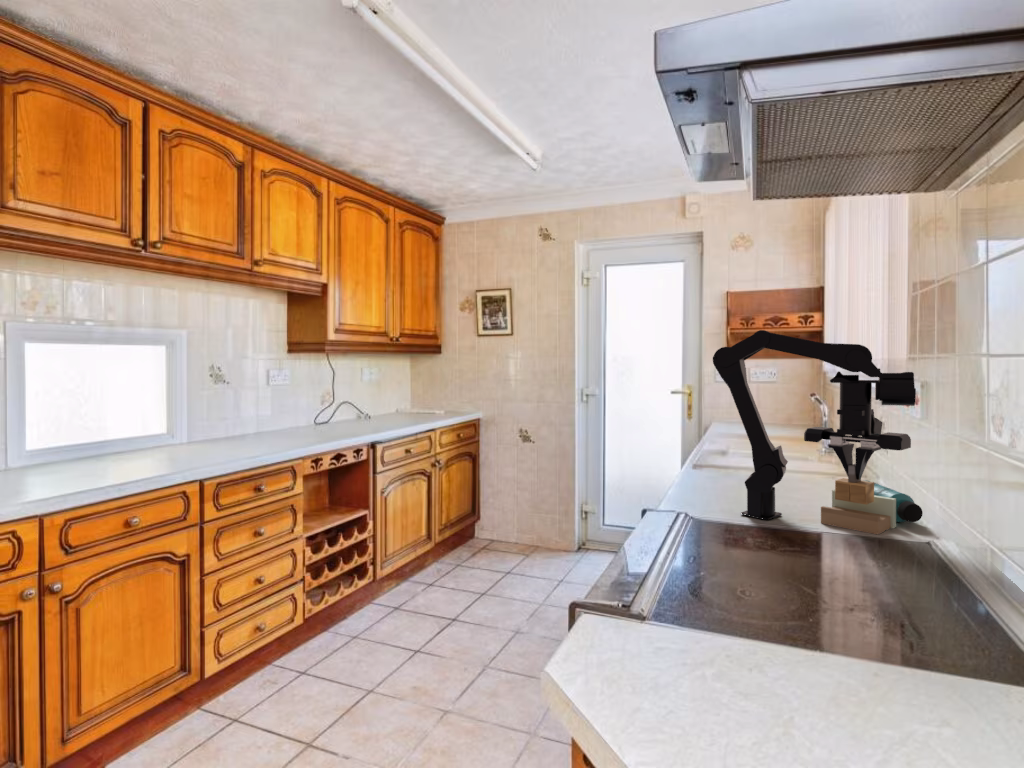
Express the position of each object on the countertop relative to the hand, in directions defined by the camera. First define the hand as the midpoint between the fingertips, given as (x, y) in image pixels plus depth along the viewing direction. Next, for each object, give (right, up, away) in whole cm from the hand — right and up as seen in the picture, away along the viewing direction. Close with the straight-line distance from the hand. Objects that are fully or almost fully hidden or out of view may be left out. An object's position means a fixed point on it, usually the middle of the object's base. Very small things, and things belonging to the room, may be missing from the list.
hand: (854, 478), depth 123 cm
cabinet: (0, -5, 0) cm, 5 cm away
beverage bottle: (+11, -6, +17) cm, 21 cm away
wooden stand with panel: (+1, -10, +1) cm, 10 cm away
